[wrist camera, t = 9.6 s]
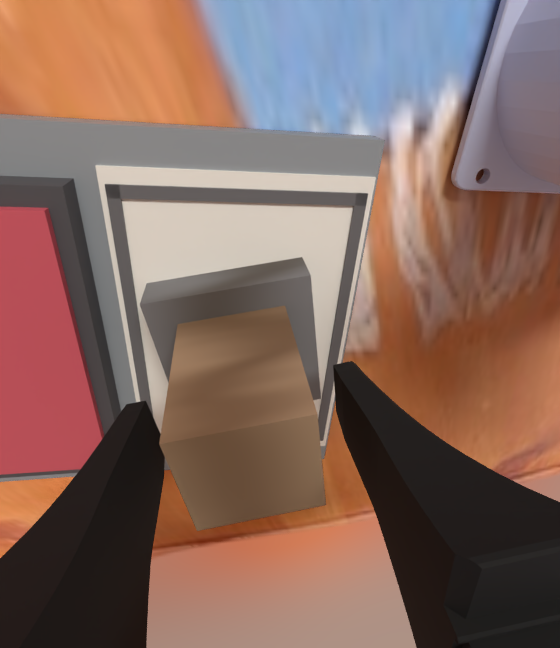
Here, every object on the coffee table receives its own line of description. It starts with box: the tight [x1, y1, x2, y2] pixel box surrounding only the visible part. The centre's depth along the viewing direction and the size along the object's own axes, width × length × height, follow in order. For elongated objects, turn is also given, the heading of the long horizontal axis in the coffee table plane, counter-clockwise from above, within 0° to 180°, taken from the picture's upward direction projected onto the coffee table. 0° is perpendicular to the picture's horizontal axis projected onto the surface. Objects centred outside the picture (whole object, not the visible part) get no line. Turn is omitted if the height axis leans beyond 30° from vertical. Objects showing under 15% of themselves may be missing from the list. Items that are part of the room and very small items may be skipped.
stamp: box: [140, 257, 326, 531], centre depth 12 cm, size 6×6×6 cm
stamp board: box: [0, 114, 385, 482], centre depth 15 cm, size 18×15×2 cm
